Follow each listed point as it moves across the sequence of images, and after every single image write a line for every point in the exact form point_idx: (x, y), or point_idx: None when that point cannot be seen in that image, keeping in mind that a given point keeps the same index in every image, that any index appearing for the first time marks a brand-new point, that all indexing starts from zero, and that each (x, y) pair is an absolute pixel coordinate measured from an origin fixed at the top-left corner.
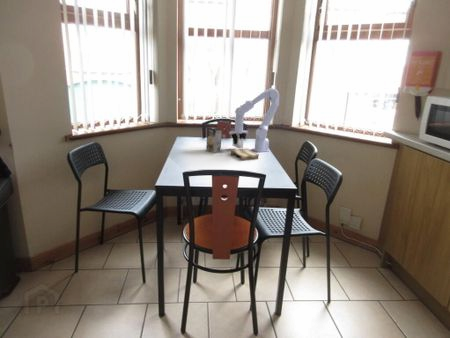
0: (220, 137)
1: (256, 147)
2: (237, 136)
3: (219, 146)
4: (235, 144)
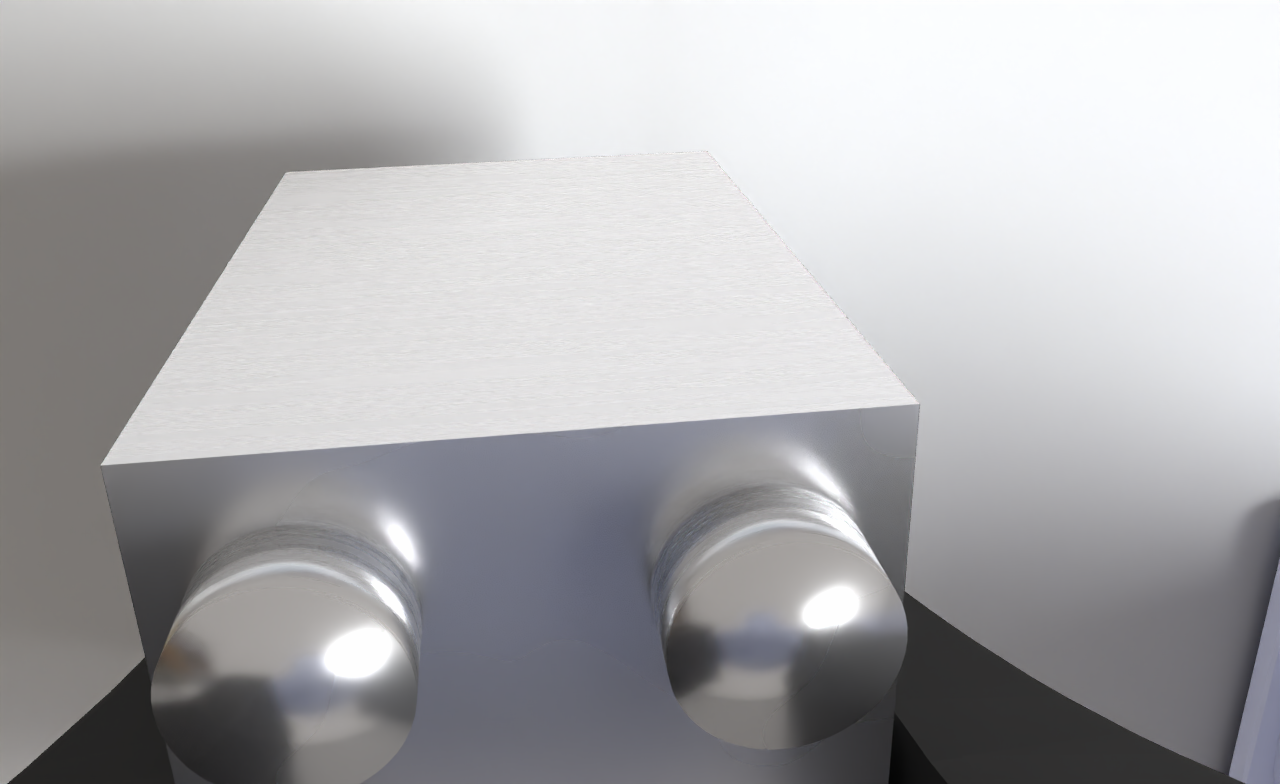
0: None
1: None
2: (801, 608)
3: None
4: None
